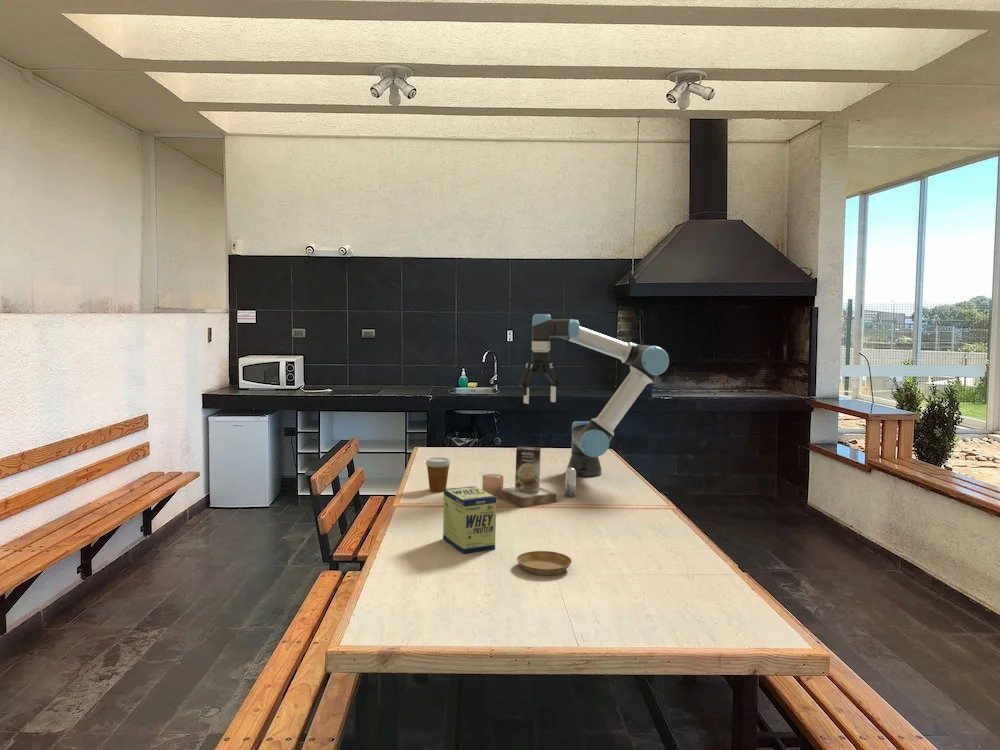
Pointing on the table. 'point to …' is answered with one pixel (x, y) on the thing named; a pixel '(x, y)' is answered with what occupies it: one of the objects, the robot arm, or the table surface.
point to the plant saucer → (544, 562)
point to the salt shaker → (570, 482)
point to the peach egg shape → (492, 483)
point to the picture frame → (526, 497)
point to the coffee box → (527, 469)
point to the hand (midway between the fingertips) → (539, 402)
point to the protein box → (469, 519)
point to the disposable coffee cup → (437, 473)
